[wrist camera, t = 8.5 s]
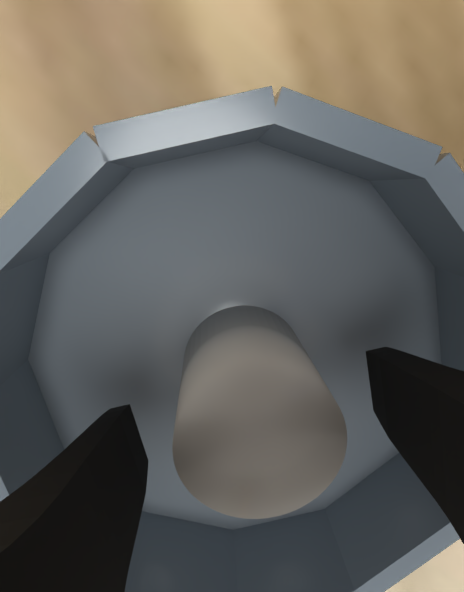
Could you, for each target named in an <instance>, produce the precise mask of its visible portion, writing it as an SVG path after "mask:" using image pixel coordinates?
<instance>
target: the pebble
mask: <svg viewBox="0 0 464 592" xmlns="http://www.w3.org/2000/svg"><path fill="white" fill-rule="evenodd" d="M346 448H347V428H346V423H345V420H344V416H343V414H342V412H341V409H340V407H339V406H338V404H337V402H336V401H335V399H334V397H333V396H332V394H331V392H330V391H329V389H328V387H327V386H326V384H325V382H324V381H323V379H322V377H321V376H320V374H319V372H318V371H317V369H316V367H315V366H314V364H313V362H312V361H311V359H310V357H309V356H308V354H307V352H306V351H305V349H304V347H303V346H302V344H301V342H300V341H299V339H298V337H297V336H296V334H295V333H294V331H293V329H292V328H291V327H290V326H289V324H288V323H287V322H286V321H285V320H284V319H282V318H281V317H280V316H278V315H277V314H275V313H273V312H271V311H269V310H267V309H264V308H261V307H256V306H247V305H243V306H234V307H229V308H225V309H222V310H220V311H218V312H216V313H214V314H212V315H211V316H209V317H207V318H206V319H205V320H204V321H203V322H201V323H200V325H199V326H198V327H197V328H196V329H195V330H194V332H193V333H192V335H191V337H190V339H189V341H188V343H187V346H186V350H185V354H184V362H183V369H182V376H181V383H180V390H179V398H178V405H177V412H176V419H175V427H174V434H173V444H172V452H173V461H174V464H175V468H176V471H177V473H178V476H179V478H180V479H181V481H182V483H183V484H184V486H185V487H186V488H187V490H188V491H189V492H190V493H191V494H192V495H193V496H194V497H195V498H196V499H197V500H198V501H200V502H201V503H203V504H204V505H206V506H207V507H209V508H211V509H213V510H215V511H217V512H220V513H222V514H225V515H229V516H233V517H237V518H245V519H262V518H271V517H276V516H280V515H284V514H287V513H290V512H292V511H295V510H297V509H299V508H301V507H303V506H305V505H306V504H308V503H310V502H311V501H312V500H314V499H315V498H317V497H318V496H319V495H320V494H321V493H322V492H323V491H324V490H325V489H326V488H327V487H328V486H329V485H330V484H331V483H332V481H333V480H334V478H335V477H336V475H337V474H338V472H339V470H340V468H341V466H342V463H343V460H344V457H345V453H346Z"/></svg>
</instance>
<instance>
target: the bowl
mask: <svg viewBox="0 0 464 592" xmlns="http://www.w3.org/2000/svg"><path fill="white" fill-rule="evenodd" d="M93 128H94V132H95V135H96V137H95V136H93V135H91V134H89V133H86V132H83V133H82V134H81V135H80V136H79V137H78V138H77V139H76V140H75V141H74V142H73V143H72V144H71V145H70V146H69V147H68V149H67V150H66V151H65V152H64V153H63V154H62V155H61V156H60V157H59V158H58V159H57V160H56V161H55V162H54V163H53V164H52V165H51V166H50V167H49V168H48V169H47V170H46V172H45V173H44V174H43V175H42V176H41V177H40V178H39V179H38V180H37V181H36V182H35V183H34V184H33V185H32V186H31V187H30V188H29V189H28V190H27V191H26V192H25V193H24V195H23V196H22V197H21V198H20V199H19V200H18V201H17V202H16V203H15V204H14V205H13V206H12V207H11V208H10V209H9V210H8V211H7V212H6V213H5V214H4V215H3V216H2V218H1V219H0V501H2V500H3V499H5V498H6V497H7V496H9V495H10V494H11V493H13V492H14V491H15V490H17V489H18V488H19V487H21V486H22V485H23V484H24V483H26V482H27V481H28V480H30V479H31V478H32V477H33V476H34V475H36V474H37V473H38V472H39V471H40V470H41V469H43V468H44V467H45V466H46V465H47V464H48V463H50V462H51V461H52V460H53V459H54V458H55V457H56V456H58V455H59V454H60V453H61V452H62V451H63V450H64V449H66V448H67V447H68V446H69V445H70V444H71V443H72V442H73V441H74V440H75V439H76V438H77V437H78V436H79V435H81V434H82V433H83V432H84V431H85V430H86V429H87V428H88V427H89V426H90V425H91V424H92V423H93V422H94V421H96V420H97V419H98V418H99V417H100V416H101V415H102V414H103V413H105V412H106V411H107V410H109V409H110V408H115V407H119V406H124V405H128V404H130V406H131V409H132V412H133V415H134V418H135V421H136V424H137V427H138V430H139V433H140V437H141V440H142V443H143V446H144V449H145V452H146V455H147V458H148V475H147V486H146V494H145V499H144V504H143V508H142V513H141V517H140V522H139V526H138V531H137V535H136V539H135V544H134V548H133V552H132V557H131V561H130V566H129V570H128V575H127V581H126V586H125V592H385V591H386V590H387V589H389V588H390V587H392V586H393V585H395V584H396V583H397V582H399V581H400V580H402V579H403V578H405V577H406V576H407V575H409V574H410V573H412V572H413V571H414V570H416V569H417V568H419V567H420V566H422V565H423V564H424V563H426V562H427V561H429V560H430V559H432V558H433V557H434V556H436V555H437V554H439V553H440V552H441V551H443V550H444V549H446V548H447V547H449V546H450V545H451V544H453V543H454V542H456V541H457V540H459V539H460V537H459V536H458V534H457V532H456V531H455V529H454V527H453V526H452V524H451V523H450V521H449V519H448V518H447V516H446V515H445V513H444V512H443V511H442V509H441V508H440V506H439V505H438V503H437V502H436V501H435V499H434V498H433V497H432V495H431V494H430V493H429V491H428V490H427V489H426V487H425V486H424V485H423V483H422V482H421V481H420V479H419V478H418V477H417V475H416V474H415V473H414V471H413V470H412V469H411V468H410V466H409V465H408V464H407V462H406V461H405V460H404V458H403V457H402V456H401V454H400V453H399V452H398V450H397V449H396V447H395V446H394V445H393V443H392V442H391V441H390V439H389V438H388V436H387V434H386V433H385V431H384V429H383V427H382V426H381V424H380V422H379V420H378V418H377V416H376V415H375V413H374V411H373V405H372V397H371V389H370V382H369V374H368V366H367V359H366V351H369V350H373V349H377V348H382V347H389V348H393V349H397V350H400V351H403V352H406V353H409V354H412V355H415V356H418V357H421V358H424V359H427V360H430V361H433V362H436V363H439V364H442V365H445V366H448V367H451V368H455V369H458V370H461V371H464V173H463V172H462V170H461V169H460V167H459V166H458V164H457V163H456V161H455V160H454V158H453V157H452V155H451V154H450V153H444V154H440V152H441V149H442V147H441V146H438V145H436V144H433V143H431V142H428V141H425V140H423V139H420V138H417V137H415V136H412V135H409V134H407V133H404V132H401V131H399V130H396V129H393V128H391V127H388V126H385V125H383V124H380V123H377V122H375V121H372V120H370V119H367V118H364V117H362V116H359V115H356V114H354V113H351V112H348V111H346V110H343V109H340V108H338V107H335V106H332V105H330V104H327V103H324V102H322V101H319V100H316V99H314V98H311V97H309V96H306V95H303V94H301V93H298V92H295V91H293V90H290V89H287V88H285V87H281V89H280V90H279V91H278V93H277V94H276V96H275V97H274V96H273V90H272V86H269V87H264V88H260V89H256V90H251V91H247V92H242V93H238V94H233V95H229V96H225V97H220V98H216V99H211V100H207V101H203V102H198V103H194V104H189V105H185V106H180V107H176V108H172V109H167V110H163V111H158V112H154V113H149V114H145V115H141V116H136V117H132V118H127V119H123V120H118V121H114V122H110V123H105V124H101V125H96V126H93ZM243 305H247V306H256V307H261V308H264V309H267V310H269V311H271V312H273V313H275V314H277V315H278V316H280V317H281V318H282V319H284V320H285V321H286V322H287V323H288V324H289V326H290V327H291V328H292V329H293V331H294V333H295V334H296V336H297V337H298V339H299V341H300V342H301V344H302V346H303V347H304V349H305V351H306V352H307V354H308V356H309V357H310V359H311V361H312V362H313V364H314V366H315V367H316V369H317V371H318V372H319V374H320V376H321V377H322V379H323V381H324V382H325V384H326V386H327V387H328V389H329V391H330V392H331V394H332V396H333V397H334V399H335V401H336V402H337V404H338V406H339V407H340V409H341V412H342V414H343V416H344V420H345V423H346V428H347V448H346V453H345V457H344V460H343V463H342V466H341V468H340V470H339V472H338V474H337V475H336V477H335V478H334V480H333V481H332V483H331V484H330V485H329V486H328V487H327V488H326V489H325V490H324V491H323V492H322V493H321V494H320V495H319V496H318V497H317V498H315V499H314V500H312V501H311V502H310V503H308V504H306V505H305V506H303V507H301V508H299V509H297V510H295V511H292V512H290V513H287V514H284V515H280V516H276V517H271V518H262V519H245V518H237V517H233V516H229V515H225V514H222V513H220V512H217V511H215V510H213V509H211V508H209V507H207V506H206V505H204V504H203V503H201V502H200V501H198V500H197V499H196V498H195V497H194V496H193V495H192V494H191V493H190V492H189V491H188V490H187V488H186V487H185V486H184V484H183V483H182V481H181V479H180V478H179V476H178V473H177V471H176V468H175V464H174V461H173V452H172V444H173V434H174V427H175V419H176V412H177V405H178V398H179V390H180V383H181V376H182V369H183V362H184V354H185V350H186V346H187V343H188V341H189V339H190V337H191V335H192V333H193V332H194V330H195V329H196V328H197V327H198V326H199V325H200V323H201V322H203V321H204V320H205V319H206V318H207V317H209V316H211V315H212V314H214V313H216V312H218V311H220V310H222V309H225V308H229V307H234V306H243Z"/></svg>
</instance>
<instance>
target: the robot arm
mask: <svg viewBox="0 0 464 592" xmlns="http://www.w3.org/2000/svg"><path fill="white" fill-rule="evenodd" d="M366 359H367V366H368V374H369V382H370V389H371V397H372V405H373V411H374V413H375V415H376V416H377V418H378V420H379V422H380V424H381V426H382V427H383V429H384V431H385V433H386V434H387V436H388V438H389V439H390V441H391V442H392V443H393V445H394V446H395V447H396V449H397V450H398V452H399V453H400V454H401V456H402V457H403V458H404V460H405V461H406V462H407V464H408V465H409V466H410V468H411V469H412V470H413V471H414V473H415V474H416V475H417V477H418V478H419V479H420V481H421V482H422V483H423V485H424V486H425V487H426V489H427V490H428V491H429V493H430V494H431V495H432V497H433V498H434V499H435V501H436V502H437V503H438V505H439V506H440V508H441V509H442V511H443V512H444V513H445V515H446V516H447V518H448V519H449V521H450V523H451V524H452V526H453V527H454V529H455V531H456V532H457V534H458V536H459V537H460V539H461V540H462V542H463V544H464V371H461V370H458V369H455V368H451V367H448V366H445V365H442V364H439V363H436V362H433V361H430V360H427V359H424V358H421V357H418V356H415V355H412V354H409V353H406V352H403V351H400V350H397V349H393V348H389V347H382V348H377V349H373V350H369V351H366ZM147 475H148V458H147V455H146V452H145V449H144V446H143V443H142V440H141V437H140V433H139V430H138V427H137V424H136V421H135V418H134V415H133V412H132V409H131V406H130V404H128V405H124V406H119V407H115V408H110V409H109V410H107V411H106V412H105V413H103V414H102V415H101V416H100V417H99V418H98V419H97V420H96V421H94V422H93V423H92V424H91V425H90V426H89V427H88V428H87V429H86V430H85V431H84V432H83V433H82V434H81V435H79V436H78V437H77V438H76V439H75V440H74V441H73V442H72V443H71V444H70V445H69V446H68V447H67V448H66V449H64V450H63V451H62V452H61V453H60V454H59V455H58V456H56V457H55V458H54V459H53V460H52V461H51V462H50V463H48V464H47V465H46V466H45V467H44V468H43V469H41V470H40V471H39V472H38V473H37V474H36V475H34V476H33V477H32V478H31V479H30V480H28V481H27V482H26V483H24V484H23V485H22V486H21V487H19V488H18V489H17V490H15V491H14V492H13V493H11V494H10V495H9V496H7V497H6V498H5V499H3V500H2V501H0V592H125V586H126V581H127V575H128V570H129V566H130V561H131V557H132V552H133V548H134V544H135V539H136V535H137V531H138V526H139V522H140V517H141V513H142V508H143V504H144V499H145V494H146V486H147Z"/></svg>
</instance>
